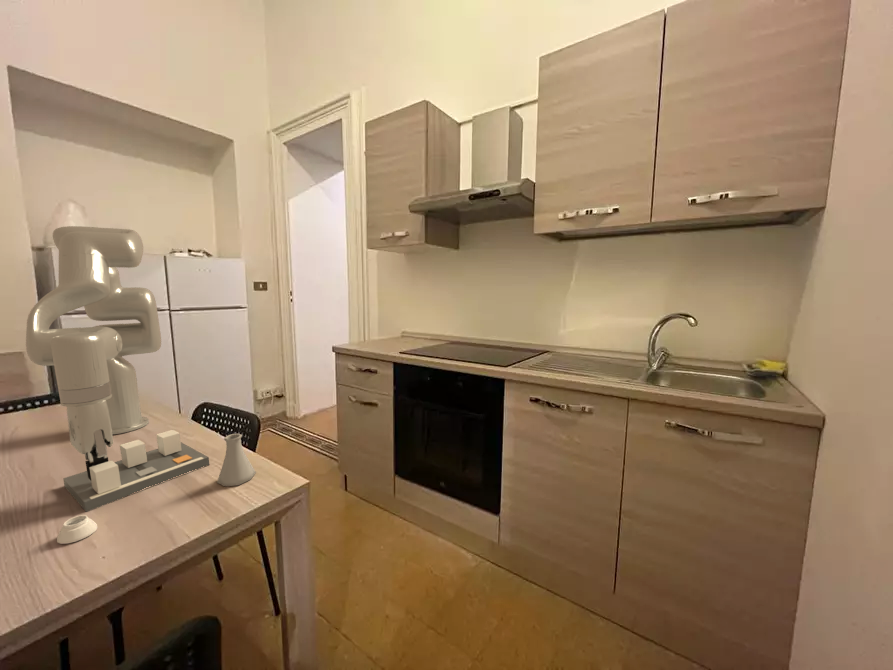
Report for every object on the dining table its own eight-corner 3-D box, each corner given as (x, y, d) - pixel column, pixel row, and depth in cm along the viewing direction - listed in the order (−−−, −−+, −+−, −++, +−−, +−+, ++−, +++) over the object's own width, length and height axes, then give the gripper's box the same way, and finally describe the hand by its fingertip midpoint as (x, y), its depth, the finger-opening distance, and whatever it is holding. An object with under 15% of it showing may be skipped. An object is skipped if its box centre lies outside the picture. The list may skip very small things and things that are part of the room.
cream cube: (158, 451, 92) (156, 434, 91) (174, 446, 95) (172, 429, 94) (165, 455, 90) (162, 438, 89) (181, 450, 92) (179, 433, 92)
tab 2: (122, 463, 86) (119, 444, 85) (140, 457, 89) (138, 439, 88) (128, 467, 84) (125, 449, 83) (147, 461, 87) (144, 443, 86)
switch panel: (64, 486, 81) (63, 477, 80) (180, 448, 99) (179, 440, 98) (85, 511, 72) (84, 501, 71) (209, 464, 90) (208, 456, 89)
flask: (239, 489, 79) (234, 444, 78) (210, 485, 81) (205, 441, 79) (262, 472, 86) (258, 431, 85) (235, 469, 88) (231, 428, 86)
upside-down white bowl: (66, 531, 66) (51, 549, 62) (64, 515, 66) (48, 533, 61) (102, 523, 68) (89, 540, 64) (100, 508, 68) (87, 525, 63)
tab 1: (92, 487, 76) (89, 467, 75) (114, 480, 79) (111, 460, 78) (98, 494, 74) (95, 472, 73) (121, 486, 76) (118, 465, 76)
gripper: (51, 391, 76) (65, 473, 80) (69, 406, 68) (85, 497, 71) (99, 382, 83) (111, 459, 86) (122, 395, 74) (134, 480, 77)
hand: (99, 476), depth 78 cm, fingers closed
